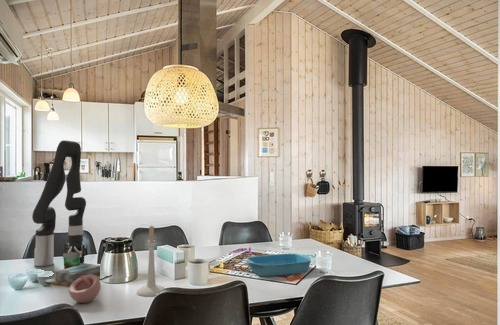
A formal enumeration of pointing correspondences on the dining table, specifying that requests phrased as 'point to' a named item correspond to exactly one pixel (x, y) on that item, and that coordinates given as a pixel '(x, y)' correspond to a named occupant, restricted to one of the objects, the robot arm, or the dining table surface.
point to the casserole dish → (278, 264)
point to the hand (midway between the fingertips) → (75, 263)
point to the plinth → (75, 273)
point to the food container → (71, 259)
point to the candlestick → (150, 271)
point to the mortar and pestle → (85, 288)
